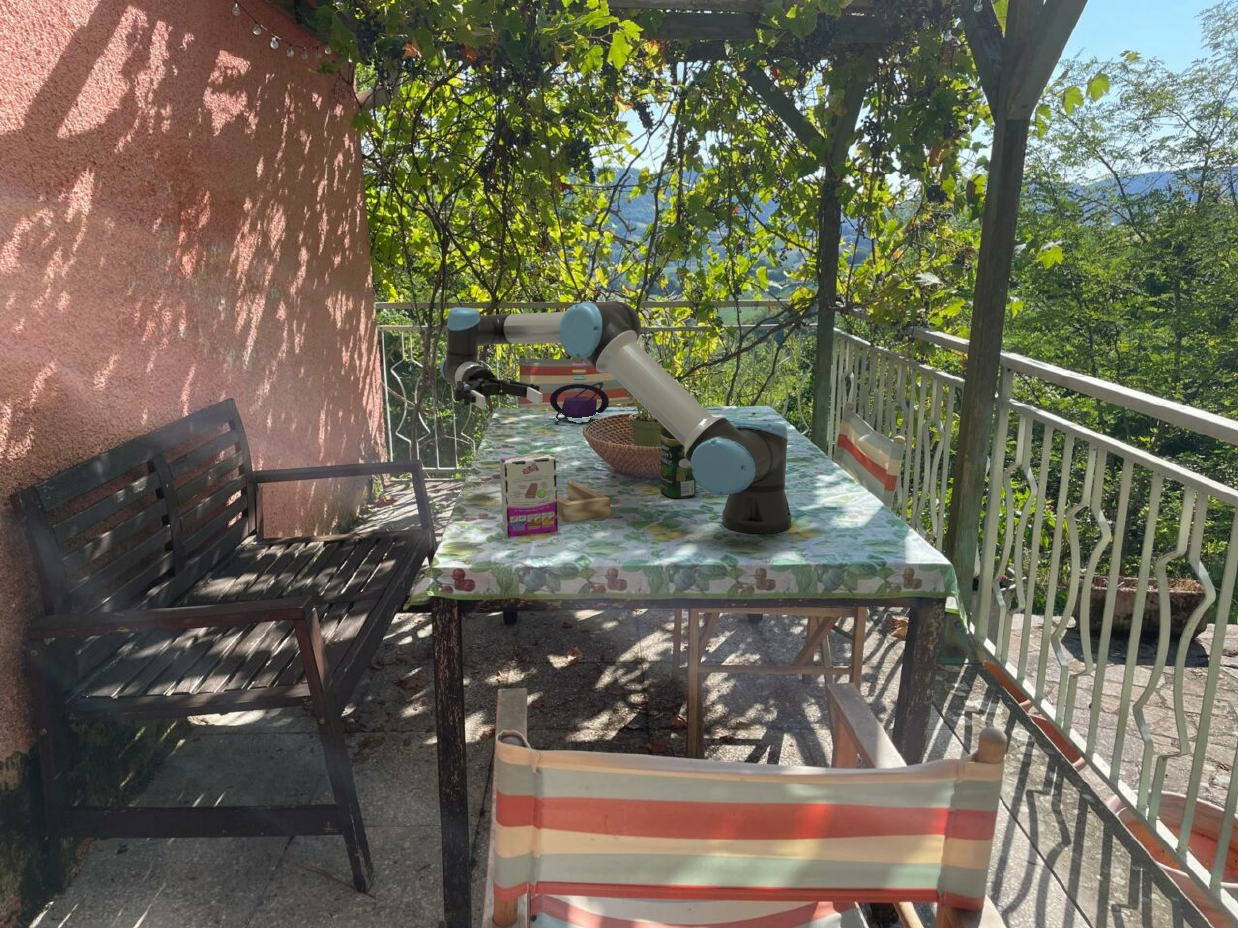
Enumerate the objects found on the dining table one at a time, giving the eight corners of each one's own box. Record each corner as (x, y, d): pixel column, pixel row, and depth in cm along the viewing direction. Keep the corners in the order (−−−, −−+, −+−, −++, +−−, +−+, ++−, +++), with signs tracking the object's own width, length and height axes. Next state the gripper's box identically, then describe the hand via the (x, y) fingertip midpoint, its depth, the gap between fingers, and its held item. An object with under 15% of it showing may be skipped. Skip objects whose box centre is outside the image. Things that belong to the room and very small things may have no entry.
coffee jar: (655, 490, 215) (656, 418, 211) (684, 488, 217) (685, 417, 213) (670, 500, 206) (671, 425, 202) (699, 497, 208) (701, 423, 204)
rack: (575, 497, 206) (575, 482, 206) (610, 515, 192) (610, 498, 191) (534, 503, 201) (533, 487, 200) (566, 522, 186) (566, 505, 185)
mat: (582, 497, 209) (582, 495, 208) (623, 517, 192) (623, 515, 192) (522, 505, 201) (522, 504, 201) (559, 527, 184) (559, 525, 184)
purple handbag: (612, 417, 322) (612, 351, 316) (606, 427, 301) (606, 357, 296) (554, 416, 324) (553, 351, 318) (544, 426, 303) (542, 356, 298)
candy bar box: (551, 526, 185) (550, 453, 181) (558, 532, 180) (557, 457, 177) (501, 532, 181) (499, 457, 177) (507, 538, 176) (505, 462, 173)
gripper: (523, 393, 208) (562, 414, 191) (424, 398, 196) (457, 421, 179) (524, 363, 206) (564, 382, 189) (425, 367, 194) (458, 387, 176)
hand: (512, 401), depth 184 cm, fingers open, 13 cm apart
